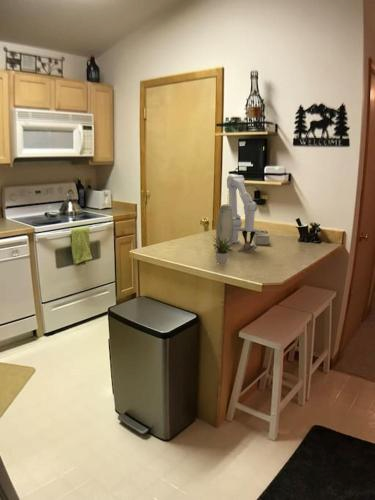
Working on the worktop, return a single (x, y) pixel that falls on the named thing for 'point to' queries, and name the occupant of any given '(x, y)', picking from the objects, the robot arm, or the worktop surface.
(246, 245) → the spatula
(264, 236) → the coffee box
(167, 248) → the worktop surface
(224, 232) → the grey rounded cylinder
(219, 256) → the house plant
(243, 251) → the mat
